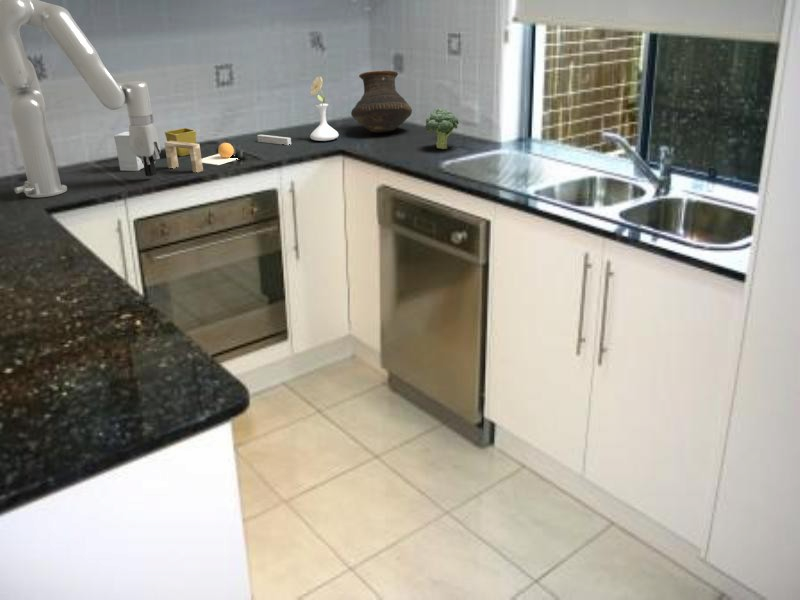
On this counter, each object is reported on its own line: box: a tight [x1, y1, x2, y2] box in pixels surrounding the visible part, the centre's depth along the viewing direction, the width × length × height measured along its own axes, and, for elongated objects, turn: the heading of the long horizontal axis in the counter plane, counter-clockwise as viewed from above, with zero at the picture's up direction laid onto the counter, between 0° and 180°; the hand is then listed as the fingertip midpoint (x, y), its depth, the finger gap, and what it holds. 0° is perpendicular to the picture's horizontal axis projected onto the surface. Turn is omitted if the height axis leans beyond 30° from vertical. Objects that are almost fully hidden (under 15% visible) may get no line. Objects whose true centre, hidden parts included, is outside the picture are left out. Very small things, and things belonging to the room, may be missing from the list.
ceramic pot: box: [350, 70, 413, 134], centre depth 314 cm, size 24×24×22 cm
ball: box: [217, 142, 235, 158], centre depth 288 cm, size 6×6×6 cm
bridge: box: [163, 140, 204, 173], centre depth 273 cm, size 3×15×9 cm, turn 56°
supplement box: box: [113, 131, 144, 172], centre depth 277 cm, size 7×7×13 cm
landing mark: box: [201, 153, 239, 166], centre depth 287 cm, size 13×13×1 cm
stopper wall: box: [256, 134, 292, 146], centre depth 309 cm, size 2×16×2 cm, turn 56°
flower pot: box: [164, 127, 197, 157], centre depth 295 cm, size 9×9×9 cm
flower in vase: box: [309, 76, 340, 142], centre depth 305 cm, size 13×11×25 cm
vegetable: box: [425, 107, 460, 150], centre depth 285 cm, size 12×13×15 cm
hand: (150, 175), depth 263 cm, fingers closed
